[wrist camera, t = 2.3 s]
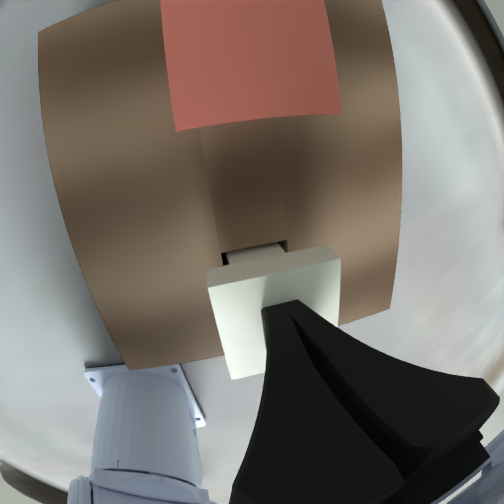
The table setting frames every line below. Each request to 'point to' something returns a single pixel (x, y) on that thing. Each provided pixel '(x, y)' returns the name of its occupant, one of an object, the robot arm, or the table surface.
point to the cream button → (268, 296)
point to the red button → (248, 60)
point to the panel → (213, 176)
